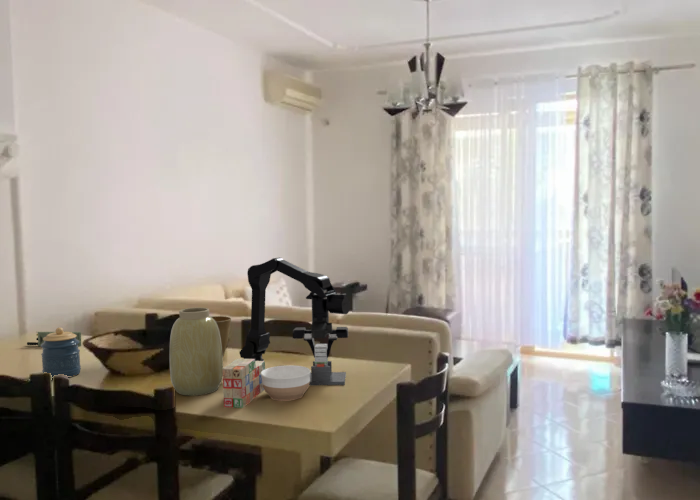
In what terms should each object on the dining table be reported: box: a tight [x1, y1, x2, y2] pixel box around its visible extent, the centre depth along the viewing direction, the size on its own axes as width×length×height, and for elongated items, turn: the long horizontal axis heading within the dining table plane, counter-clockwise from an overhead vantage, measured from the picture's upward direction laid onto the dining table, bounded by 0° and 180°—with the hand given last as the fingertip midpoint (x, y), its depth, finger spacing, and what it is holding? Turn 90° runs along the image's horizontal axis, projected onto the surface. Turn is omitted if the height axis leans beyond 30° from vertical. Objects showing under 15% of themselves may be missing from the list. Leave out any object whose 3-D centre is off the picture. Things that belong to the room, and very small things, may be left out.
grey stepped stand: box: [309, 360, 347, 386], centre depth 224 cm, size 16×12×7 cm
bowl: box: [261, 364, 311, 402], centre depth 208 cm, size 16×16×8 cm
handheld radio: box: [26, 331, 82, 348], centre depth 288 cm, size 7×3×25 cm
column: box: [314, 343, 329, 366], centre depth 222 cm, size 4×5×8 cm
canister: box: [41, 327, 82, 377], centre depth 239 cm, size 13×13×18 cm
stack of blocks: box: [222, 358, 266, 409], centre depth 207 cm, size 21×6×12 cm, turn 168°
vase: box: [168, 307, 224, 396], centre depth 215 cm, size 17×17×27 cm
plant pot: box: [211, 315, 232, 357], centre depth 259 cm, size 15×15×16 cm
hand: (321, 357), depth 223 cm, fingers closed on column, 4 cm apart
